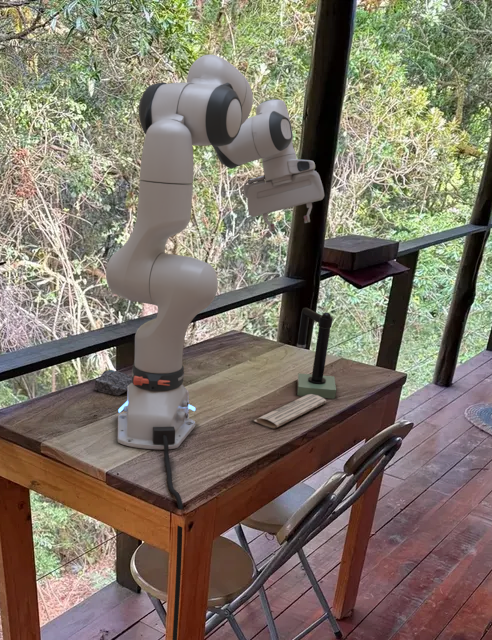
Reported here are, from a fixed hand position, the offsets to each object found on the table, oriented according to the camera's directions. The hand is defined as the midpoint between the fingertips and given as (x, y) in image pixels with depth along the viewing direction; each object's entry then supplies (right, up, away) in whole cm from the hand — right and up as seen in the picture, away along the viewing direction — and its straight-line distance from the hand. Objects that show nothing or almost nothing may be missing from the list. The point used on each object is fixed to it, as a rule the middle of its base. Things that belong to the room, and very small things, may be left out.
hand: (289, 226), depth 200 cm
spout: (+6, -33, +4) cm, 34 cm away
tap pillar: (+8, -41, +3) cm, 42 cm away
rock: (-46, -44, -2) cm, 64 cm away
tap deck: (+8, -43, +5) cm, 44 cm away
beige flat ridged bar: (-1, -52, -10) cm, 53 cm away
